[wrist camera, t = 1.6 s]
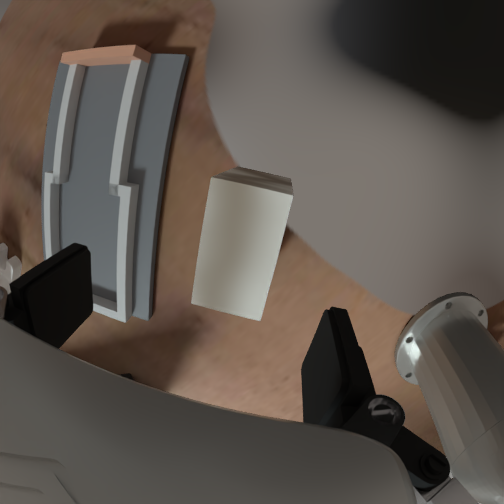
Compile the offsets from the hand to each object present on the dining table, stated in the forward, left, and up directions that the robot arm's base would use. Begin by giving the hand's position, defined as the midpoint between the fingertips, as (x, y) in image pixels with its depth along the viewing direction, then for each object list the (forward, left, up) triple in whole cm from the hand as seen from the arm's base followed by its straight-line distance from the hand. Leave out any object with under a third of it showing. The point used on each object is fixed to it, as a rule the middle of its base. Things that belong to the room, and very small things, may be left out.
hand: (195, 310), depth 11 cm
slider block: (-1, 0, -16) cm, 16 cm away
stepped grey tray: (+15, 0, -16) cm, 22 cm away
